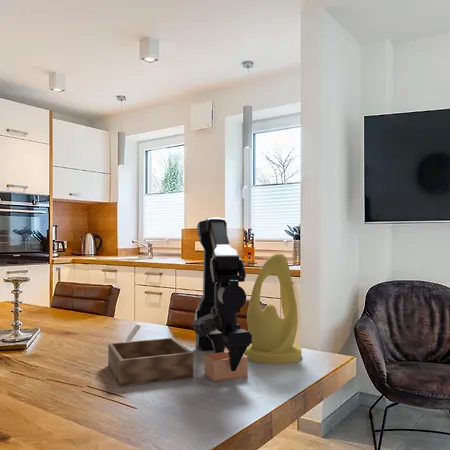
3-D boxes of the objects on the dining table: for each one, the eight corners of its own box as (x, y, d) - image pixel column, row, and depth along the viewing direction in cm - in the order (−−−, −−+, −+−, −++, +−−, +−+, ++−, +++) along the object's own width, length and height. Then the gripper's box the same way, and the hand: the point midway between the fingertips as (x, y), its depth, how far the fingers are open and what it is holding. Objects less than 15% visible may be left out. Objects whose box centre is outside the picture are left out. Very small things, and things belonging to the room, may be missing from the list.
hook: (155, 341, 128) (134, 328, 127) (131, 374, 129) (110, 361, 128) (157, 330, 135) (137, 318, 134) (134, 361, 136) (114, 349, 135)
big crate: (172, 358, 129) (172, 337, 129) (193, 377, 112) (193, 352, 112) (108, 365, 122) (108, 343, 122) (119, 386, 105) (120, 360, 105)
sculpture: (263, 366, 121) (263, 254, 122) (234, 352, 136) (234, 252, 137) (313, 359, 129) (312, 253, 130) (280, 346, 144) (279, 251, 144)
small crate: (236, 369, 118) (236, 350, 118) (247, 377, 112) (247, 356, 112) (204, 374, 115) (204, 354, 115) (214, 381, 109) (214, 360, 109)
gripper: (184, 300, 119) (183, 359, 119) (209, 311, 102) (209, 380, 102) (222, 298, 124) (222, 355, 123) (253, 308, 107) (253, 374, 106)
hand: (225, 365), depth 114 cm, fingers open, 9 cm apart
